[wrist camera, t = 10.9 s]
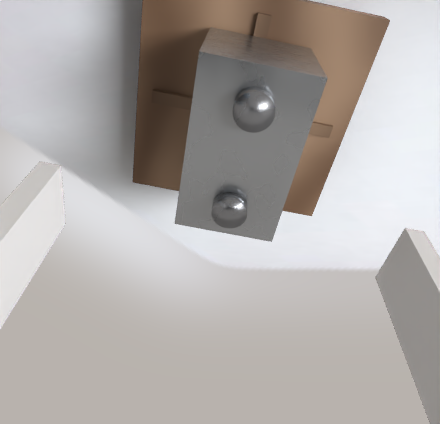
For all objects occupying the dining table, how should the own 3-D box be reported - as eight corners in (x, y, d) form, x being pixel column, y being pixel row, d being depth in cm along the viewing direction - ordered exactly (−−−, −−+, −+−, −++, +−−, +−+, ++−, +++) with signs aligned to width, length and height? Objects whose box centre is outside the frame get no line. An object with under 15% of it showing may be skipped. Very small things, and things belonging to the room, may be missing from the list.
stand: (141, 163, 31) (131, 184, 29) (155, -36, 23) (143, -33, 21) (307, 195, 32) (312, 218, 29) (376, 12, 24) (391, 21, 21)
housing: (210, 27, 22) (196, 55, 17) (311, 48, 22) (330, 83, 17) (188, 174, 28) (172, 231, 22) (268, 189, 28) (272, 250, 23)
